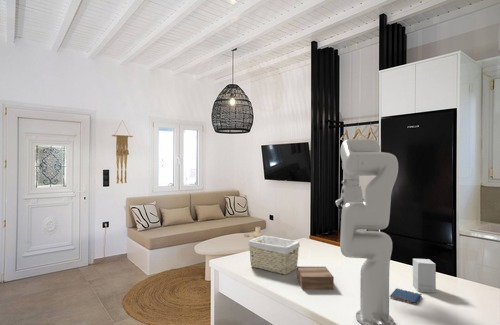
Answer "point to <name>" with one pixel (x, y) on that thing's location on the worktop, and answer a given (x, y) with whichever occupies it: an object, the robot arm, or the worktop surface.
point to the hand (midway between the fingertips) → (351, 217)
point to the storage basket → (274, 254)
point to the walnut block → (315, 278)
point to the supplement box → (424, 275)
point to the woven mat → (406, 296)
